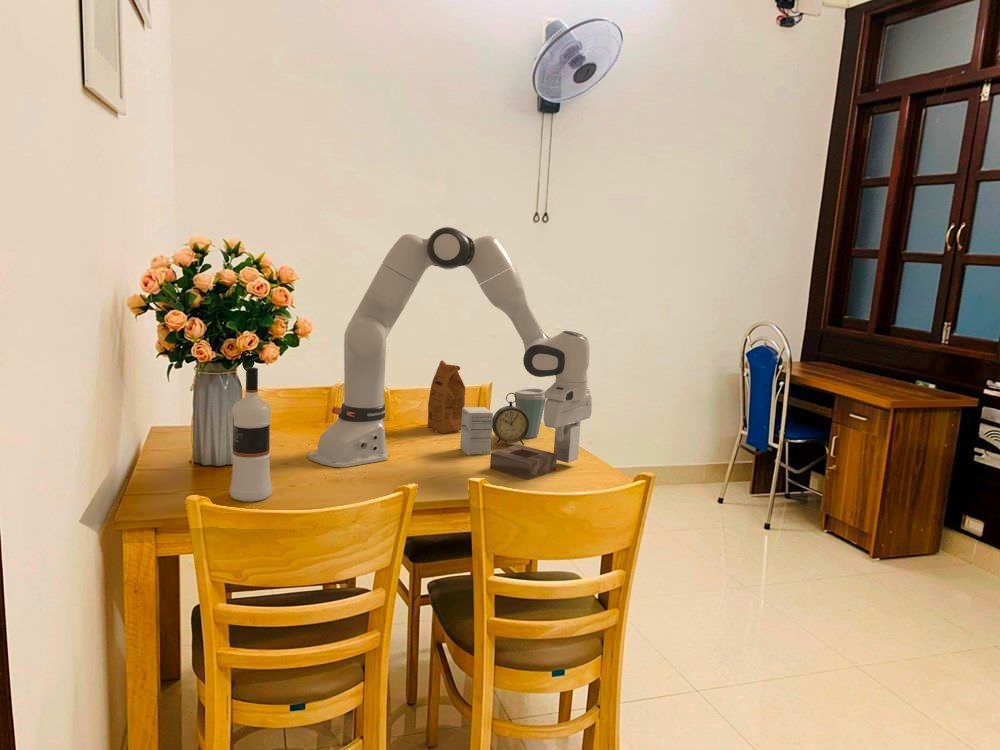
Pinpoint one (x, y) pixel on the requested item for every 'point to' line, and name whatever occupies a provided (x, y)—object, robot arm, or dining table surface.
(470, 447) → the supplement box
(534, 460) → the pocket block
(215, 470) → the dining table surface
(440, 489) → the dining table surface
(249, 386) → the vodka
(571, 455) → the grey peg
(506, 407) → the alarm clock
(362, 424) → the robot arm
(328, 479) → the dining table surface
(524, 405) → the disposable coffee cup
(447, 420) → the coffee package
